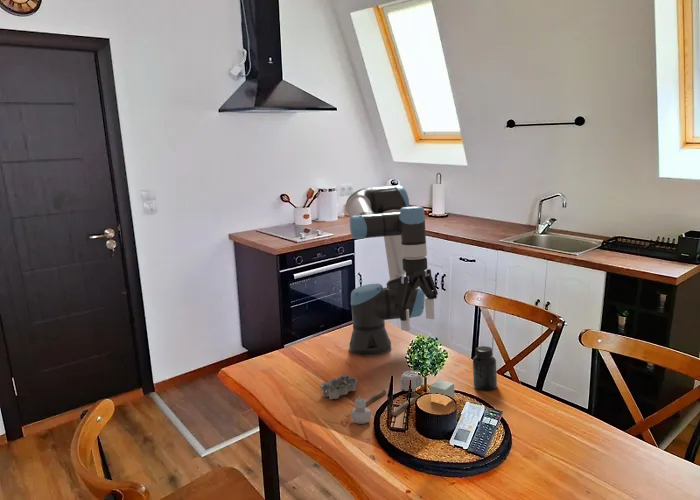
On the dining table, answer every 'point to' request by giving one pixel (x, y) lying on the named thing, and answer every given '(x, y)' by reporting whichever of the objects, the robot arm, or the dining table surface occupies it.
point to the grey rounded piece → (360, 412)
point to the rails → (395, 411)
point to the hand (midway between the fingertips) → (418, 324)
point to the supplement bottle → (484, 369)
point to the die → (414, 378)
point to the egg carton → (339, 386)
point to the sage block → (443, 388)
